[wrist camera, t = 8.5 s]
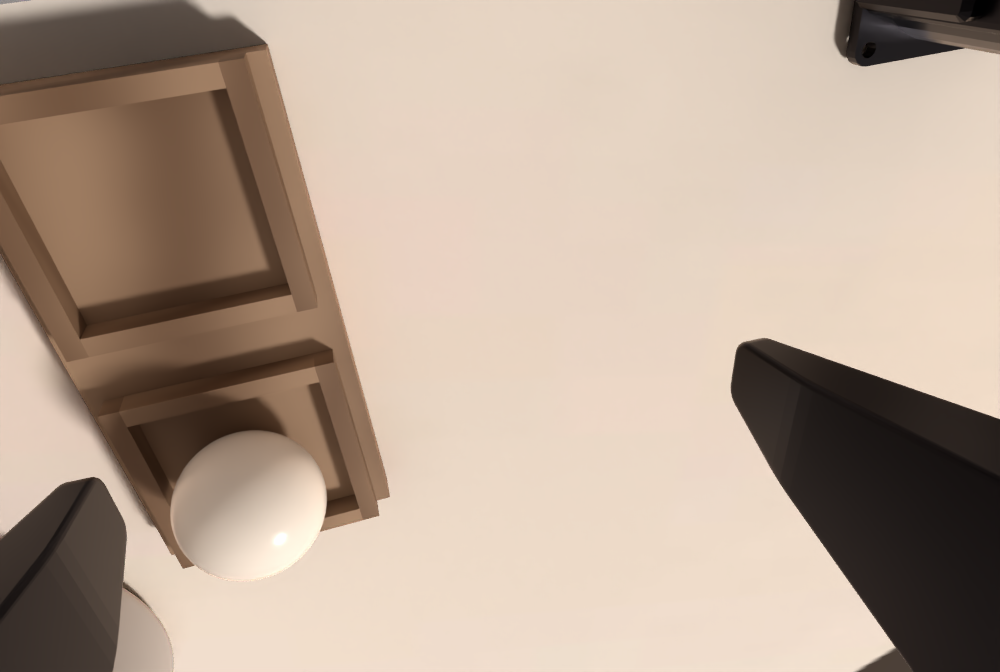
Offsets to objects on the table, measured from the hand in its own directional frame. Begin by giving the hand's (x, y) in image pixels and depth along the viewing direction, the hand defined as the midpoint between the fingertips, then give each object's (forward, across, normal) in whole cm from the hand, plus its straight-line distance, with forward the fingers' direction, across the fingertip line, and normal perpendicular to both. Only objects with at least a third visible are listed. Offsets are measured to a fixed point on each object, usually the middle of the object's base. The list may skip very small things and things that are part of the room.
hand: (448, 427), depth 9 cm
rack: (+13, +6, +5) cm, 15 cm away
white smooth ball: (+12, +6, +9) cm, 16 cm away
